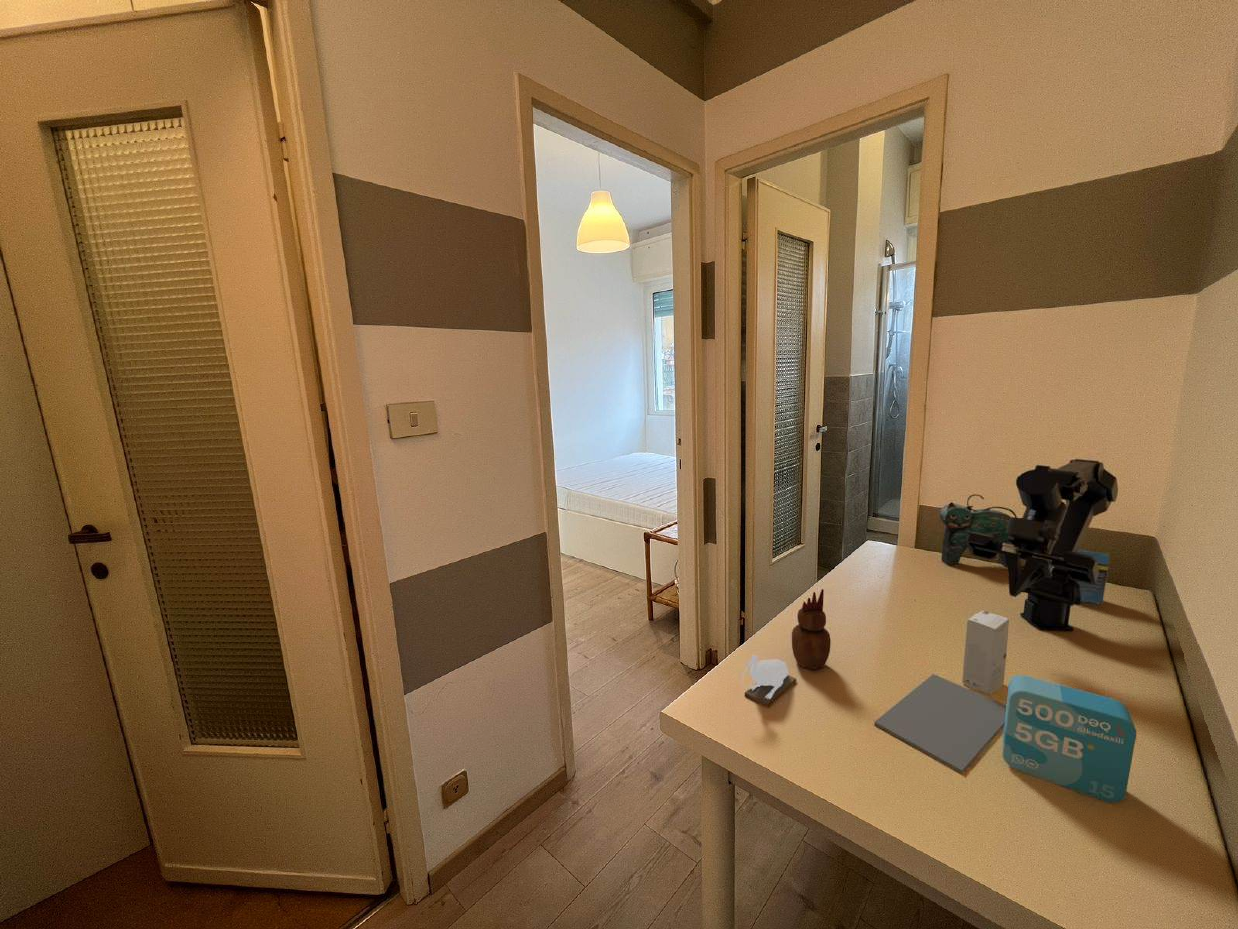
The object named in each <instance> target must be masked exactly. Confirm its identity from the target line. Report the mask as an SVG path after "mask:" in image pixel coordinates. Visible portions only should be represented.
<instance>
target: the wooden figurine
mask: <svg viewBox="0 0 1238 929" xmlns="http://www.w3.org/2000/svg"><path fill="white" fill-rule="evenodd" d="M824 591H825V590H824V588H821V590H820V593H819V596H818V598H817V595H816V592H815V591H813V593H812V598H810V597H807V601H806V602H805V601H803V603H802V606H801V608H800V609H798V611H797V614H796V615H797V623H798V624H796V626H794V627H793V629H792V630H791V649H792V654H793V656H794V659H795V661H796V663H797V664H798V665H799V666H801V667H803V668H806V669H811V670H812V669H813V670H817V669H820V668H823V667H824V666H825V665H826V663H827V661H828V659H829V657H830V651H831V645H832V644H831V642H832V640H831V635H830V632H829V631H828V629H826V628H825V627H826V625H827V624H826V623H827V616H826V613H825V612H824V593H825V592H824Z"/></svg>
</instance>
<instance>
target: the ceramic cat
mask: <svg viewBox="0 0 1238 929" xmlns="http://www.w3.org/2000/svg"><path fill="white" fill-rule="evenodd" d="M976 496H978V497H979V498H981V499H982V500H984V497H983V496H982V495H980V494H977V493H976V494H970V495H969V496H968V498H967V502H966V504H967V505H966V506H963V505H961V504H957V503H953V502H952V501H951V502H950V503H948V504H946V505H944V506H943V507H941V510H940V513H939V516H940V517H939V518H940V521H941V522H942V523H943V524H944V525H945V530H944V533H943V538H942V548H941V561H942V563H944V564H945V565H946V566H947V567H948V566H952V567H953V566H954V567H957V566H959V565H960V560H961V558H962V556H963V553H964V552H965V550H967V548H968V547H967V545H966V543H965V540H966V538H967V535H968V534H970V533H972V532H978V533H983V534H988V535H993V536H994V538H995V541H996V543H998V544H1003V543H1005V544H1010V545H1011V544H1012V543H1011V542H1009V541H1008V536H1009V535H1007V534H1006V530H1007V526H1008V522H1009V518H1010V517H1012V516H1011V515H1009V514H1007V513H1004V512H1002V511H1000V510H1001V509H1002V510H1006V511H1008V512H1010V513H1011V514H1013V517H1014V518H1018V516H1017V515H1016V513H1015V511H1013V510H1012V509H1011V508H1008V507H1004V506H991V507H987V508H983V509H982V508H980V509H979V508H978V509H973V508H974V505H969V500H970V499H971V498H972V497H976ZM994 509H995V510H994ZM996 509H1000V510H996ZM998 563H999V564H1000V565H1002V566H1003V564H1002V562H1001V559H1000V557H999V556H998Z"/></svg>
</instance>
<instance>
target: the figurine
mask: <svg viewBox="0 0 1238 929" xmlns="http://www.w3.org/2000/svg"><path fill="white" fill-rule="evenodd" d="M749 668H750V670H749V675H750V677H751V679H752V681H754V683H755V684H754V685H750V686H749V687H748V688H747V690H746V691H745V692H744V697H745V698H747V699H749V700H752V701H753V702H756V703H757V704H759V705H761V706H763V707H765V708H769V707H771V705H772V704H774V703H775V702H776V701H777V700H778V699H780V698H781V696H782V695H784V694H786V692H787V691H788V690H790V688H791V687H792V685H793V684H794V685H795V684H796V683H797V678H796V677H794V676H791V675H789V668H788V666H787V664H786V662H784V661H782V659H781V660H780V659H776V658H773V659H763V660H759V657H758V655H757V654H753V655H752V656H751V657H750V660H749V662H748V663H747V665H746V666H745V668H744V669H743V673H742V675H741V679H740V683H743V680H744V676H745V674H746V673H747V671H748V669H749ZM795 682H796V683H795ZM794 685H793V686H794Z"/></svg>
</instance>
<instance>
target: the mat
mask: <svg viewBox="0 0 1238 929" xmlns="http://www.w3.org/2000/svg"><path fill="white" fill-rule="evenodd" d="M1006 705H1007V704H1003V703H1001V702H998V701H996V700H994V699H993V698H989V697H987V696H985V695H982V693H981V694H980V693H979V692H977V691H976V692H975V691H974V690H971V689H969V688H966V687H964V686H962V685H960V684H957V683H955V682H953V681H950V680H948V679H946V678H943V677H941V676H939V675H937V674H935V673H932V675H930V676H929V677H927V678H926V679H925V680H924V681H922V682H921V684H919V685H918V686H916V687H915V688H914V689H913V690H912V691H911V692H909V693H908V694H907V695H905V696H904V697H903V698H902V699H900V700H899V701H898V702H897V703H896V704H894V706H892V707H890V709H889V710H887V711H885V713H884V714H882V715H881V716H880V717H878V718H877V719H876V720H874V723H873V724H874V726H876V727H878V728H879V729H882V730H883V731H885V732H887V733H889V734H890V735H892V736H894V737H896V738H898V739H899V740H900V741H903V742H904V743H906V744H908V745H910V746H912V747H914V748H915V749H917V750H919V751H921V752H922V753H924V754H926V755H928V756H929V757H930V758H931V757H932V758H933V759H935V760H937V761H939V763H942V764H944V765H946V766H947V767H949V768H951V769H953V770H955V771H956V772H958V773H959V774H963V773H964V772H965V771H966V769H967V768H969V766H970V765H971V764H972V763H973V762H974V761H975V760H976V759H977V757H978V756H979V755H980V754H981V753H982V752H983V750H984V749H985V748H986V747H987V746H988V745H989V743H991V741H992V740H993V739H994V738H995V736H997V735H998V733H999V732H1000V731H1001V730H1002V729H1003V728H1004V721H1005V713H1006Z"/></svg>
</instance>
